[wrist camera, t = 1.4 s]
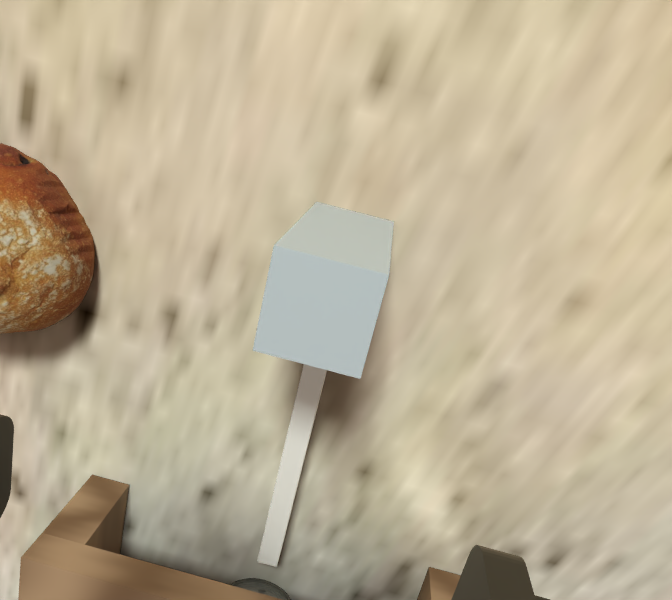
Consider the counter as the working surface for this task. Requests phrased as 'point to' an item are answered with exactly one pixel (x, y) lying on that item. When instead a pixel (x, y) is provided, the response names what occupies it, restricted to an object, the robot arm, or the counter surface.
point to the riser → (128, 560)
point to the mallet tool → (319, 325)
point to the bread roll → (39, 246)
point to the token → (262, 587)
